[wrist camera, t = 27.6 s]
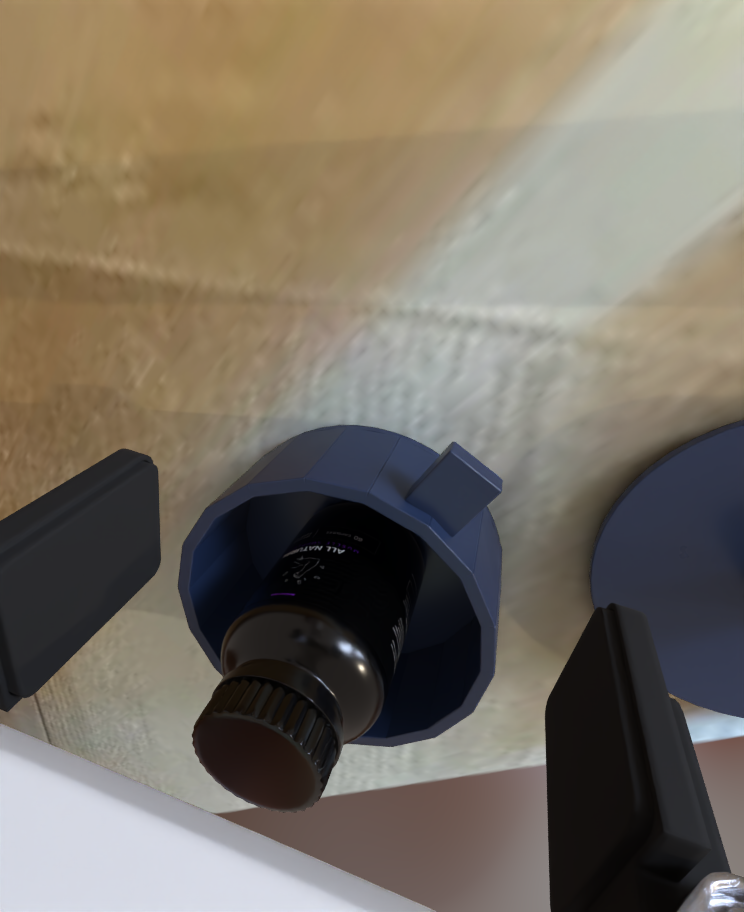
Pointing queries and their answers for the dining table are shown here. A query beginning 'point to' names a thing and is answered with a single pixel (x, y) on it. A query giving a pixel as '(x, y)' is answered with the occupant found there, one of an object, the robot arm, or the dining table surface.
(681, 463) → the pan lid
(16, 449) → the dining table surface
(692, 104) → the dining table surface
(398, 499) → the pan
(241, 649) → the supplement bottle
